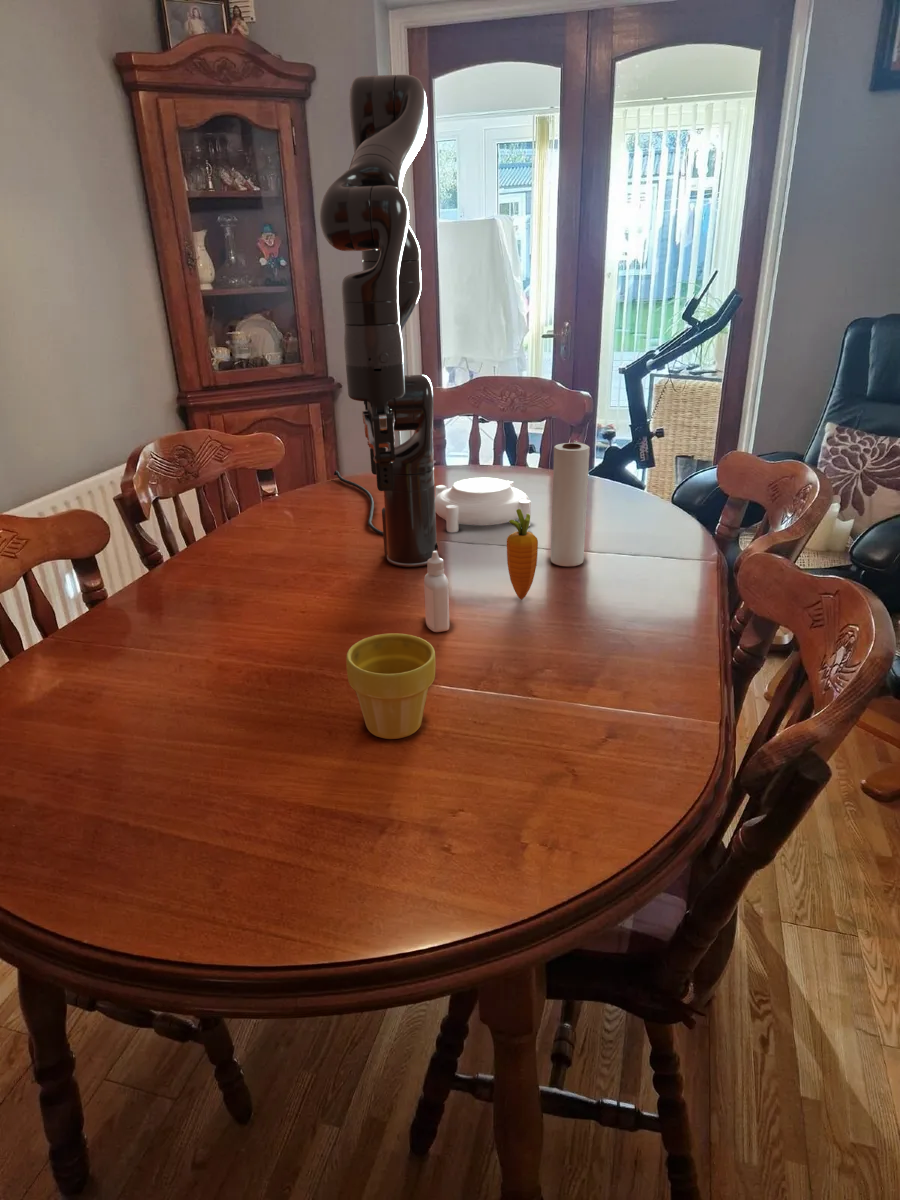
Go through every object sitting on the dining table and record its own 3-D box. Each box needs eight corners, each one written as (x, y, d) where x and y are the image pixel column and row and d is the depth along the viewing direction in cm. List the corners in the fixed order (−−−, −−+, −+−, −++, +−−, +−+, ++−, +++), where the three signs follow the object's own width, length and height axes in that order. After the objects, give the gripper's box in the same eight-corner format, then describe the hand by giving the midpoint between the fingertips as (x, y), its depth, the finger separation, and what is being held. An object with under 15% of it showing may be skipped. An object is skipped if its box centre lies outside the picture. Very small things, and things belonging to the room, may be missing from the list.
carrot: (535, 606, 121) (537, 516, 114) (504, 604, 122) (504, 515, 115) (538, 594, 125) (540, 507, 119) (508, 592, 126) (508, 506, 120)
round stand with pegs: (467, 495, 179) (466, 465, 176) (557, 511, 166) (558, 479, 163) (403, 522, 161) (402, 490, 158) (498, 542, 148) (498, 507, 145)
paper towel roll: (568, 570, 134) (574, 451, 125) (543, 561, 138) (546, 445, 130) (594, 559, 139) (601, 444, 130) (569, 551, 143) (574, 438, 134)
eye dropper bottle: (418, 631, 113) (415, 557, 108) (428, 616, 118) (426, 544, 113) (446, 634, 112) (444, 559, 107) (455, 618, 117) (454, 546, 112)
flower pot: (449, 708, 94) (447, 638, 90) (419, 755, 85) (415, 680, 81) (373, 695, 97) (368, 627, 93) (336, 740, 88) (329, 667, 84)
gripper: (342, 355, 104) (352, 470, 110) (348, 368, 91) (359, 498, 98) (396, 352, 105) (402, 467, 112) (410, 365, 92) (416, 493, 99)
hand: (382, 481), depth 105 cm, fingers open, 8 cm apart
